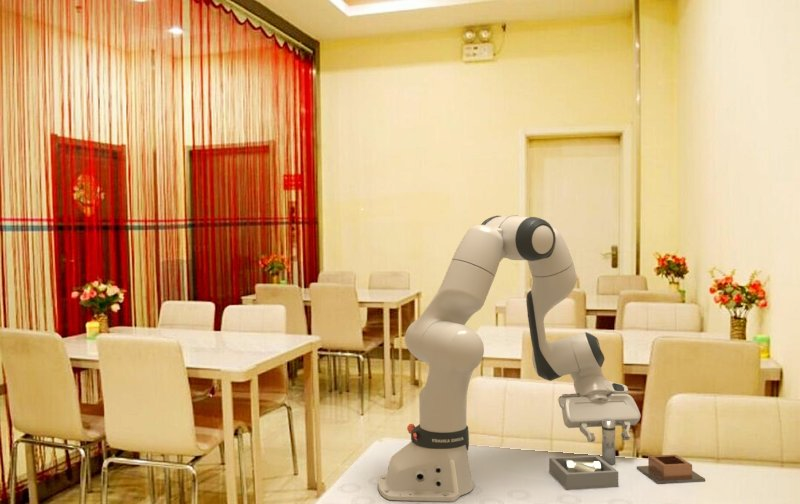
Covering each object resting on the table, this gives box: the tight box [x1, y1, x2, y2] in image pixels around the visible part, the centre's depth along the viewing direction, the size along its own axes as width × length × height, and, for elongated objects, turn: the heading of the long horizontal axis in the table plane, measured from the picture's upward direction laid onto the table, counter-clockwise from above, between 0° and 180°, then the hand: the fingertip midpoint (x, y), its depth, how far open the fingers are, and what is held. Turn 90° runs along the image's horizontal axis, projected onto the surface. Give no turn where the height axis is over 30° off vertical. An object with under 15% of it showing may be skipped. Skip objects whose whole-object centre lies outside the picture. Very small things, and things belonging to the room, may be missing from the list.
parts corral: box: [548, 454, 619, 490], centre depth 152 cm, size 12×12×4 cm
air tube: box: [601, 419, 616, 466], centre depth 163 cm, size 3×3×11 cm
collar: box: [636, 454, 706, 485], centre depth 154 cm, size 12×10×4 cm
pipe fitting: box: [565, 461, 601, 473], centre depth 153 cm, size 8×4×7 cm
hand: (609, 440), depth 162 cm, fingers open, 8 cm apart
